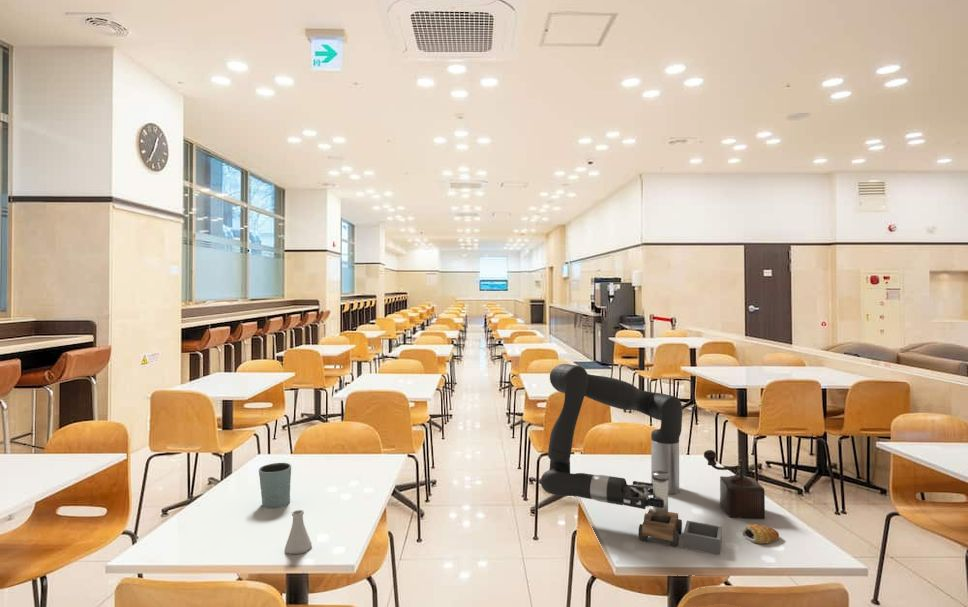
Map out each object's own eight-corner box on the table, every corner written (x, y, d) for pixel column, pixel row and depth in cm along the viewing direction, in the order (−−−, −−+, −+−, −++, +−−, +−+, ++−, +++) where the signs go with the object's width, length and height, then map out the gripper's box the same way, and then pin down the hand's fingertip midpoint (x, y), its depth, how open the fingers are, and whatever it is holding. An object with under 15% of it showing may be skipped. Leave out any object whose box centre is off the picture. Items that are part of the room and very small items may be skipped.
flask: (315, 542, 147) (315, 506, 147) (307, 554, 140) (307, 517, 140) (289, 542, 147) (288, 507, 147) (280, 555, 140) (279, 517, 140)
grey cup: (280, 510, 169) (280, 473, 169) (252, 508, 171) (251, 471, 171) (297, 498, 179) (297, 463, 179) (271, 496, 181) (270, 461, 181)
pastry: (767, 531, 152) (767, 518, 152) (786, 542, 145) (786, 528, 145) (739, 535, 150) (739, 522, 150) (757, 547, 143) (757, 533, 143)
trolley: (645, 521, 159) (645, 505, 159) (682, 528, 154) (682, 511, 154) (636, 541, 146) (636, 523, 146) (676, 549, 142) (676, 530, 141)
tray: (687, 534, 150) (686, 520, 150) (721, 540, 146) (721, 526, 146) (683, 548, 142) (683, 533, 142) (720, 555, 138) (720, 539, 138)
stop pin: (653, 521, 152) (653, 469, 152) (670, 524, 150) (670, 472, 150) (650, 528, 148) (650, 474, 148) (668, 531, 146) (668, 477, 146)
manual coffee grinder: (752, 505, 171) (752, 449, 170) (765, 519, 160) (765, 460, 159) (702, 503, 173) (701, 448, 173) (711, 517, 162) (711, 458, 162)
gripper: (602, 484, 149) (662, 493, 142) (613, 469, 162) (669, 477, 155) (602, 510, 149) (662, 521, 142) (614, 493, 162) (669, 502, 155)
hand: (666, 498), depth 148 cm, fingers open, 8 cm apart
